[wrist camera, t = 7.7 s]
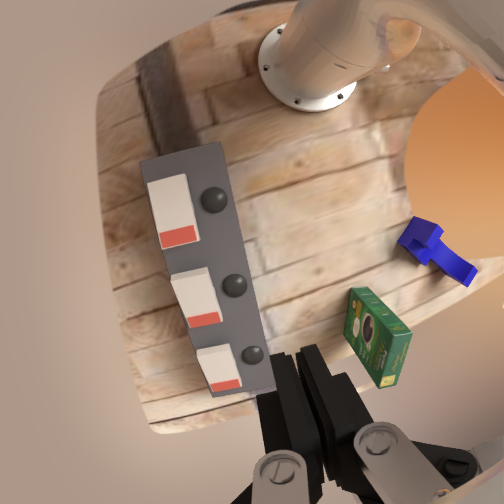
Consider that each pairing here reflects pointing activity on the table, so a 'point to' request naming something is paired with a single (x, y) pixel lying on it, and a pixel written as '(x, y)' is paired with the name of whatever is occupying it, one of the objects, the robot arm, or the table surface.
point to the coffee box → (376, 336)
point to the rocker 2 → (197, 297)
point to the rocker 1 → (173, 211)
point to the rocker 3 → (219, 367)
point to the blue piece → (435, 250)
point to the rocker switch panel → (217, 261)
